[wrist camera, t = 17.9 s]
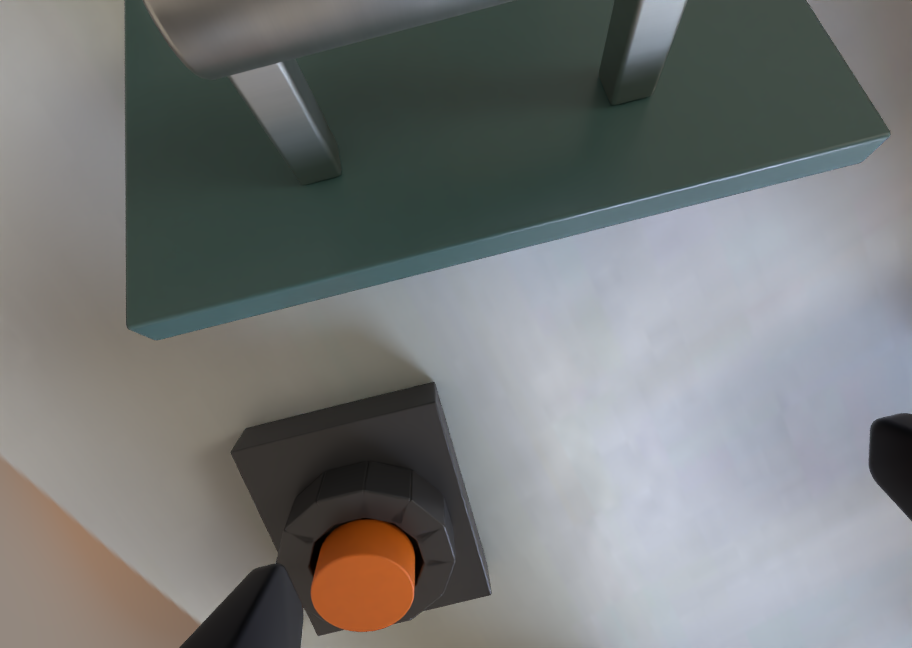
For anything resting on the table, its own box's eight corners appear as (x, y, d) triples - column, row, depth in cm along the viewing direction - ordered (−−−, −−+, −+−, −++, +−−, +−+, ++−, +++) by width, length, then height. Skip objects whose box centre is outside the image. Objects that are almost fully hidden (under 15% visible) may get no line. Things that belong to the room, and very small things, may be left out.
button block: (487, 564, 23) (497, 633, 20) (324, 603, 24) (308, 677, 20) (434, 381, 20) (437, 427, 17) (244, 428, 20) (210, 483, 17)
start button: (425, 579, 20) (425, 619, 18) (337, 600, 20) (329, 642, 18) (400, 508, 18) (398, 544, 17) (306, 530, 18) (295, 569, 17)
